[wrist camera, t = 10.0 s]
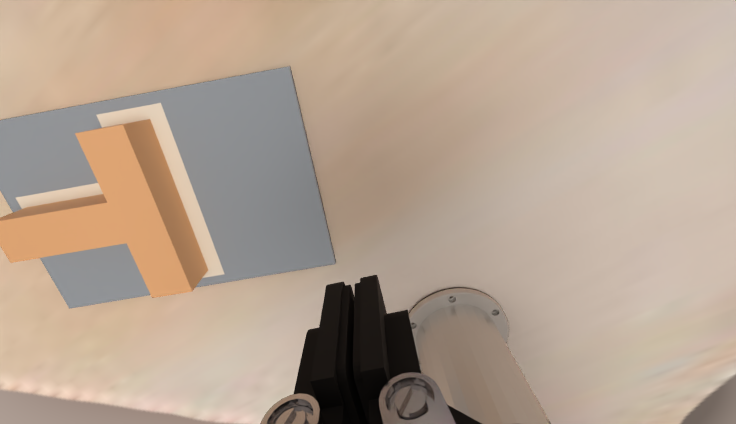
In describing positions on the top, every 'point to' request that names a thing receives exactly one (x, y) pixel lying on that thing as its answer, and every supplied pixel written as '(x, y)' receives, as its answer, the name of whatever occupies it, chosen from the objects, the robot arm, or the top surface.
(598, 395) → the top surface
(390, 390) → the robot arm
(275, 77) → the mat
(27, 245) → the t block
